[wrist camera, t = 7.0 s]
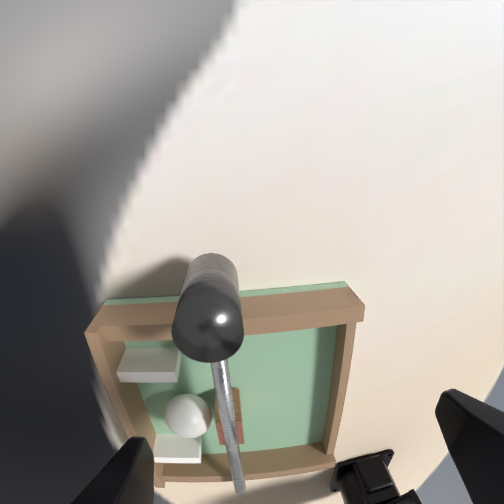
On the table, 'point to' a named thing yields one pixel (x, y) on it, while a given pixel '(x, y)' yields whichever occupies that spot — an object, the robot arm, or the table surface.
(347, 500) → the robot arm
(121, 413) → the pitch
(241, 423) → the rubber mallet
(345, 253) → the table surface
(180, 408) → the ball
